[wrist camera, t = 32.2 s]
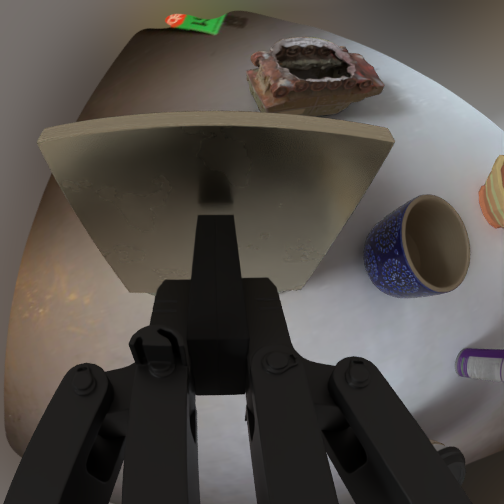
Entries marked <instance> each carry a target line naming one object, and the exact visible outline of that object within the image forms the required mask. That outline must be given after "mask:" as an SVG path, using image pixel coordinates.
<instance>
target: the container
mask: <svg viewBox="0 0 504 504" xmlns="http://www.w3.org/2000/svg"><path fill="white" fill-rule="evenodd" d="M455 369H456V373H457V374H458V375H459V376H462V377H468V378H474V379H481V380H488V381H495V382H503V383H504V350H500V349H471V348H465V349H463V350H462V351H461V352H460V353H459V354H458V356H457V359H456V363H455Z"/></svg>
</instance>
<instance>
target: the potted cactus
mask: <svg viewBox="0 0 504 504" xmlns="http://www.w3.org/2000/svg"><path fill="white" fill-rule="evenodd" d="M479 203H480V206H481V209H482V212H483V215H484V217H485V218H486V220H487V221H488V223H489V224H490V225H491V226H493V227H494V228H499V227H502V228H504V155H499V157H498V158H497V159H496V161H495V163H494V165H493V168H492V171H491V172H490V174H489V176H488V178H487V180H486V183H485V185H484V186H482V187H481V189H480V191H479Z"/></svg>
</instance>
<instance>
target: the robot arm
mask: <svg viewBox="0 0 504 504" xmlns="http://www.w3.org/2000/svg"><path fill="white" fill-rule="evenodd" d="M129 347H130V350H131V352H132V355H133V358H134V360H135V363H133V364H131V365H130V366H127V367H124V368H120V369H116V370H111V371H107V372H104V370H103V369H102V368H101V367H99V366H97V365H95V364H90V363H84V364H79V365H76V366H75V367H73V368H71V369H70V370H69V371H68V372H67V374H66V375H65V376H64V378H63V380H62V381H61V383H60V385H59V387H58V388H57V390H56V392H55V394H54V396H53V397H52V399H51V401H50V403H49V405H48V407H47V408H46V410H45V412H44V414H43V416H42V418H41V420H40V422H39V424H38V426H37V428H36V430H35V432H34V434H33V436H32V438H31V440H30V442H29V444H28V446H27V448H26V451H25V453H24V455H23V457H22V459H21V462H20V464H19V466H18V469H17V471H16V473H15V476H14V478H13V480H12V483H11V485H10V488H9V490H8V493H7V495H6V498H5V501H4V504H108V503H109V501H110V498H111V495H112V492H113V489H114V486H115V483H116V480H117V477H118V474H119V472H120V469H121V466H122V463H123V460H124V469H123V485H122V504H200V491H199V471H198V443H197V410H196V406H195V394H196V395H237V394H245V392H246V401H247V405H246V415H245V421H247V425H248V433H249V442H250V450H251V459H252V467H253V475H254V483H255V491H256V498H257V504H339V503H338V499H337V495H336V490H335V486H334V482H333V478H332V474H331V470H330V466H329V462H328V458H327V454H328V456H329V458H330V460H331V461H332V463H333V465H334V467H335V468H336V470H337V472H338V474H339V475H340V477H341V479H342V481H343V482H344V484H345V486H346V488H347V489H348V491H349V493H350V495H351V496H352V498H353V500H354V502H355V503H356V504H472V502H471V501H470V499H469V498H468V496H467V495H466V493H465V492H464V490H463V489H462V487H461V486H460V484H459V483H458V481H457V480H456V478H455V477H454V475H453V474H452V472H451V471H450V469H449V468H448V466H447V465H446V463H445V462H444V460H443V459H442V457H441V456H440V455H439V453H438V452H437V450H436V449H435V447H434V446H433V444H432V443H431V442H430V440H429V439H428V437H427V436H426V435H425V433H424V432H423V430H422V429H421V427H420V426H419V425H418V423H417V422H416V420H415V419H414V418H413V416H412V415H411V413H410V412H409V411H408V409H407V408H406V406H405V405H404V404H403V402H402V401H401V400H400V398H399V397H398V395H397V394H396V393H395V391H394V390H393V389H392V387H391V386H390V385H389V383H388V382H387V380H386V379H385V378H384V376H383V375H382V374H381V372H380V371H379V370H378V368H377V367H376V366H375V365H374V364H373V363H372V362H370V361H368V360H366V359H364V358H361V357H354V356H353V357H347V358H344V359H342V360H341V361H339V362H338V363H337V365H336V366H332V365H326V364H320V363H315V362H312V361H309V360H307V359H305V358H303V357H302V356H300V355H299V354H298V353H297V352H296V351H295V349H294V348H293V346H292V343H291V340H290V336H289V332H288V328H287V325H286V321H285V317H284V313H283V309H282V305H281V302H280V300H279V294H278V290H277V287H276V286H275V285H274V283H273V282H272V281H271V280H270V279H269V278H268V277H260V278H242V276H241V268H240V260H239V252H238V244H237V236H236V228H235V220H234V215H198V216H197V225H196V233H195V243H194V252H193V262H192V272H191V279H176V280H164V281H163V282H162V284H161V285H160V286H159V287H158V289H157V291H156V296H155V303H154V306H153V312H152V316H151V321H150V326H147V327H144V328H142V329H140V330H138V331H137V332H136V333H135V334H134V335H133V336H132V338H131V340H130V342H129ZM326 452H327V454H326Z"/></svg>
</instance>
